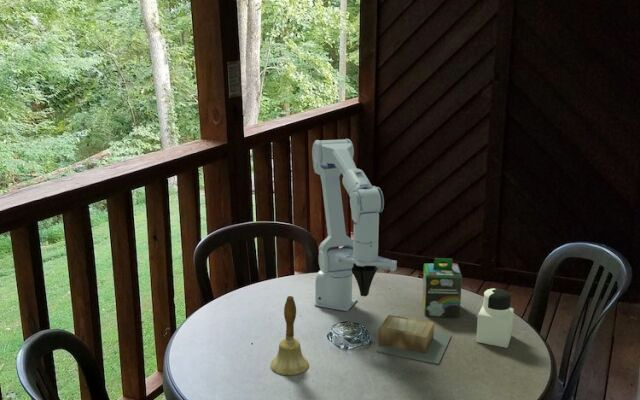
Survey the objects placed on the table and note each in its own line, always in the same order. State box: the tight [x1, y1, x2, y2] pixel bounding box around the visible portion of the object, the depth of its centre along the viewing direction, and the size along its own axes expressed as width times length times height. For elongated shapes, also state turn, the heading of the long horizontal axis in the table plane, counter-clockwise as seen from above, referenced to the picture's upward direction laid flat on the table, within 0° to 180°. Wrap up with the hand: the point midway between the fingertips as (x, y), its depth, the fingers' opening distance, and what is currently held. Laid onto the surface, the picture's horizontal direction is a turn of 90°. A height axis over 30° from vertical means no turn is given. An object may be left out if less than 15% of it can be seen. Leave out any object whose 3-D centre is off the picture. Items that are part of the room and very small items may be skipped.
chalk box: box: [422, 257, 463, 319], centre depth 153 cm, size 9×9×15 cm
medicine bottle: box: [475, 287, 515, 349], centre depth 138 cm, size 7×7×12 cm
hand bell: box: [270, 295, 310, 376], centre depth 125 cm, size 8×8×16 cm
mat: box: [376, 332, 452, 366], centre depth 136 cm, size 14×14×1 cm
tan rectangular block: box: [377, 314, 435, 354], centre depth 137 cm, size 4×8×11 cm
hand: (364, 294), depth 139 cm, fingers closed
